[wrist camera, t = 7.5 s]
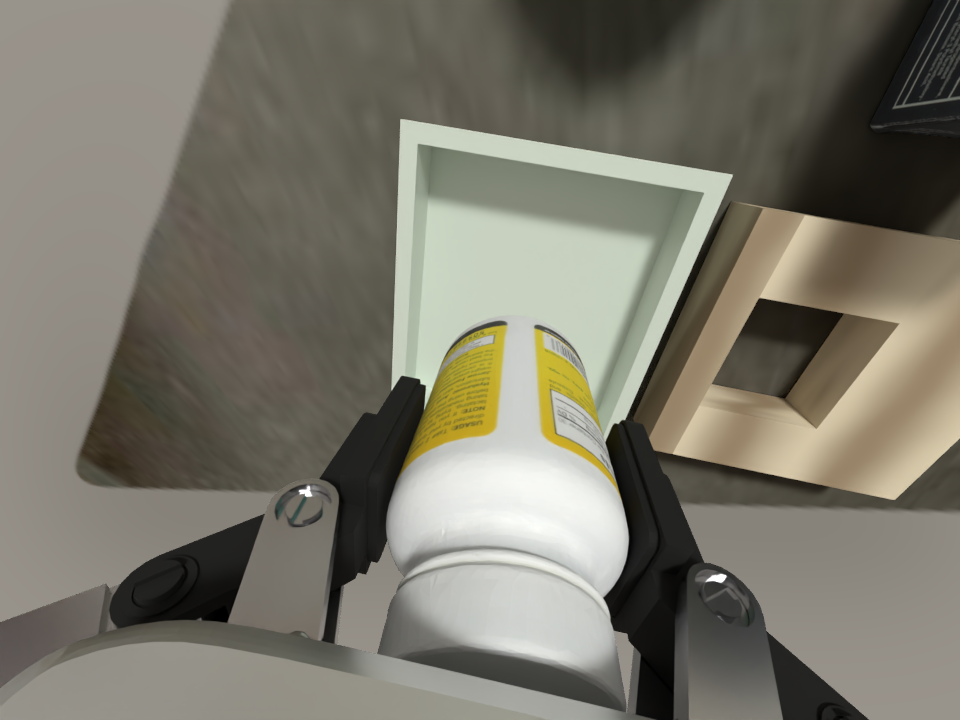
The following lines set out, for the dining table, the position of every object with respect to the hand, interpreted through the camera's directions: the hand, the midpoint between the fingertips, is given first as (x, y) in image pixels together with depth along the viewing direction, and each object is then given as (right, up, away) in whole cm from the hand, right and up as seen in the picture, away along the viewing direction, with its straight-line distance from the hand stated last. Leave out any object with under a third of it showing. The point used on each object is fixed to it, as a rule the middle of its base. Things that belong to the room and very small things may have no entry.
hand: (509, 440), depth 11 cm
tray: (+2, +6, +11) cm, 13 cm away
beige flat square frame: (+18, +3, +10) cm, 21 cm away
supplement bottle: (0, +2, +3) cm, 4 cm away
